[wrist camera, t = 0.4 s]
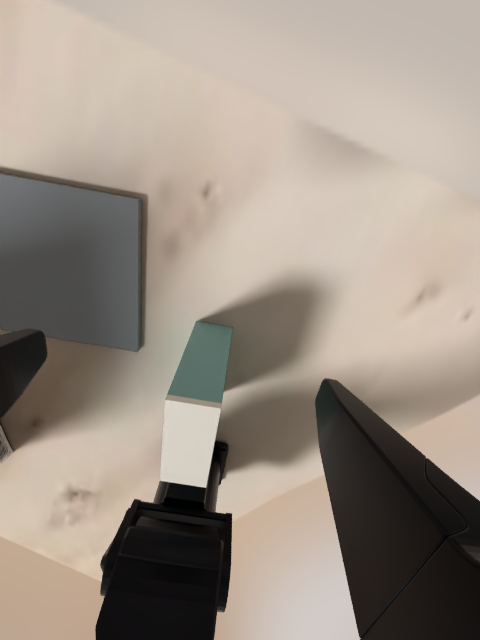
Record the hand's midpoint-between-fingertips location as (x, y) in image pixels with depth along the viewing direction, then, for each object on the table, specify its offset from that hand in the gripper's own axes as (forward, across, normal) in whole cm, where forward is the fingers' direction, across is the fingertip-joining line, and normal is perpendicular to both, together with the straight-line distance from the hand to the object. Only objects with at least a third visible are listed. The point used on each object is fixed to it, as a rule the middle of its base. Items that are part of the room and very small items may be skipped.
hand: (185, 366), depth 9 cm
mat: (+13, +13, +3) cm, 19 cm away
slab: (+13, 0, +9) cm, 16 cm away
